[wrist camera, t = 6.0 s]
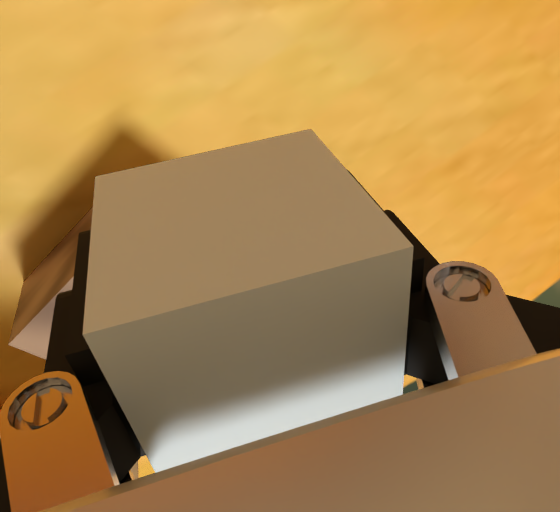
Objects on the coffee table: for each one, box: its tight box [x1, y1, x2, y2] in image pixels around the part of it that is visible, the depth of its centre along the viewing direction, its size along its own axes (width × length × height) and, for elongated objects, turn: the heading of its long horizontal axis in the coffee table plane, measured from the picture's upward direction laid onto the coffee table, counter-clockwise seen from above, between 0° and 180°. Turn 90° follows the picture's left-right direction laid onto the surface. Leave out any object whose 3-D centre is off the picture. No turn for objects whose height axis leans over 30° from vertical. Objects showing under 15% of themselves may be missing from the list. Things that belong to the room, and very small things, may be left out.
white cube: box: [83, 129, 414, 473], centre depth 10 cm, size 5×5×5 cm
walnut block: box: [8, 207, 93, 360], centre depth 33 cm, size 10×18×6 cm, turn 42°
